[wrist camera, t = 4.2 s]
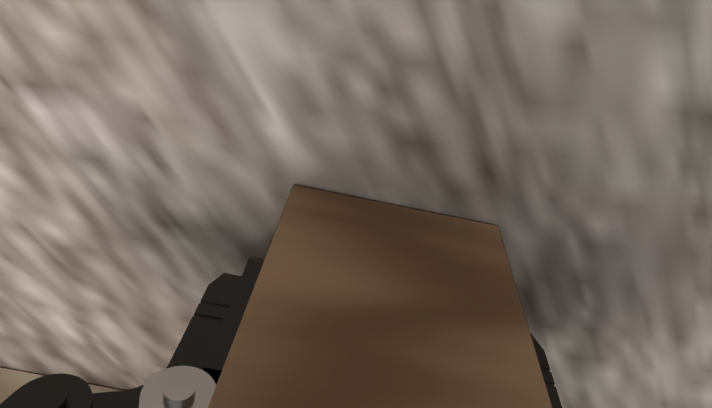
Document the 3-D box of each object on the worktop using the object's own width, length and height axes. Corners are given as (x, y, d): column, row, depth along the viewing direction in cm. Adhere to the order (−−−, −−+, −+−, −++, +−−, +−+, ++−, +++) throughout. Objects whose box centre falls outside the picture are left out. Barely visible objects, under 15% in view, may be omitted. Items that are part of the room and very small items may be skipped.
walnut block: (498, 226, 13) (584, 517, 7) (442, 370, 15) (470, 679, 9) (293, 184, 13) (193, 444, 7) (271, 337, 15) (183, 628, 9)
